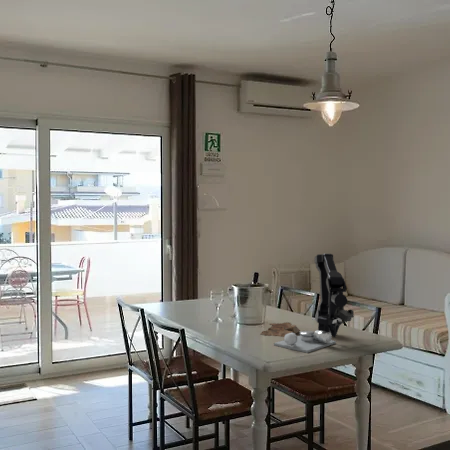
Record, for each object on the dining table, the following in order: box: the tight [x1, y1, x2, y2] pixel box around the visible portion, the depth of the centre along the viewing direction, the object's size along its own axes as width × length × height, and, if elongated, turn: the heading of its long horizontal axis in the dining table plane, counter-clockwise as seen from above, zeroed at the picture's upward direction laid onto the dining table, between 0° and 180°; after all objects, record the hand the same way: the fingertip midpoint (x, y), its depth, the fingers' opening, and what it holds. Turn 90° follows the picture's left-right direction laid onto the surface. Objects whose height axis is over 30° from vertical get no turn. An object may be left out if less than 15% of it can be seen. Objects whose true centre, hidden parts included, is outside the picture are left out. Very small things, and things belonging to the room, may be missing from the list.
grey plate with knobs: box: [273, 332, 337, 354], centre depth 253 cm, size 23×18×6 cm
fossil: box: [260, 322, 301, 338], centre depth 276 cm, size 20×16×5 cm
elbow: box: [299, 329, 333, 343], centre depth 254 cm, size 15×8×5 cm, turn 47°
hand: (334, 336), depth 255 cm, fingers closed
